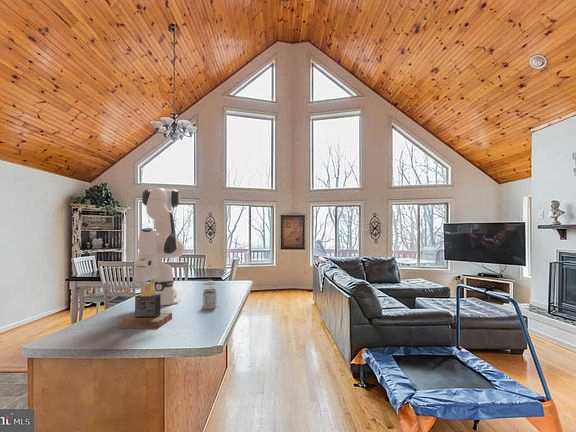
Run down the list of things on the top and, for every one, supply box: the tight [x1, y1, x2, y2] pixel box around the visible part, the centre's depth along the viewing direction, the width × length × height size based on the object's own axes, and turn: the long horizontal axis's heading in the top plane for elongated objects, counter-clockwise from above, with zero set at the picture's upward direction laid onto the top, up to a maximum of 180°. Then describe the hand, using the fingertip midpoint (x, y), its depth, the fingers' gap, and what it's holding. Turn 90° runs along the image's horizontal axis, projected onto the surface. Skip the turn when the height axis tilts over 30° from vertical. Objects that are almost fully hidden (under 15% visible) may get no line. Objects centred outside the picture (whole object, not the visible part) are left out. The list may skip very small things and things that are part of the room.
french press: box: [201, 263, 219, 309], centre depth 209 cm, size 10×12×25 cm
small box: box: [134, 294, 161, 318], centre depth 173 cm, size 11×6×10 cm, turn 87°
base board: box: [119, 312, 173, 329], centre depth 172 cm, size 18×18×3 cm
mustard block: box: [139, 283, 155, 296], centre depth 172 cm, size 5×5×5 cm
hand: (147, 289), depth 172 cm, fingers open, 8 cm apart
